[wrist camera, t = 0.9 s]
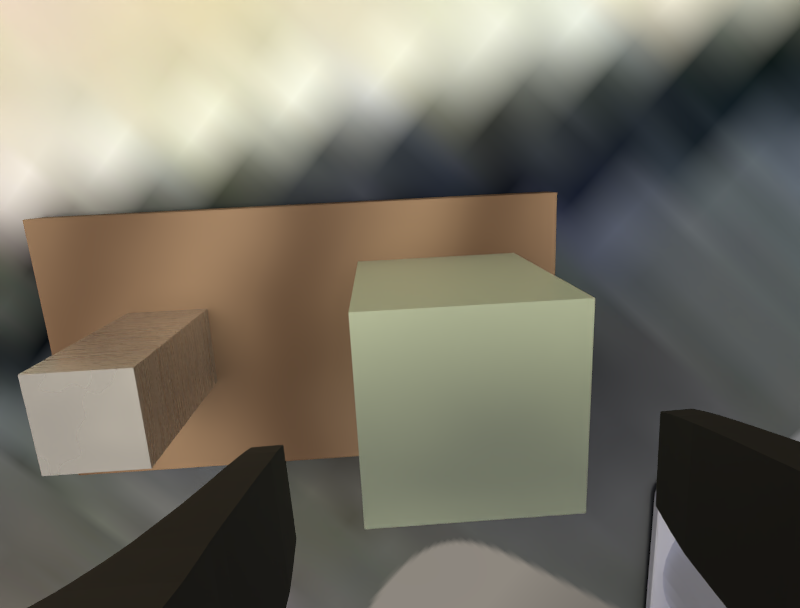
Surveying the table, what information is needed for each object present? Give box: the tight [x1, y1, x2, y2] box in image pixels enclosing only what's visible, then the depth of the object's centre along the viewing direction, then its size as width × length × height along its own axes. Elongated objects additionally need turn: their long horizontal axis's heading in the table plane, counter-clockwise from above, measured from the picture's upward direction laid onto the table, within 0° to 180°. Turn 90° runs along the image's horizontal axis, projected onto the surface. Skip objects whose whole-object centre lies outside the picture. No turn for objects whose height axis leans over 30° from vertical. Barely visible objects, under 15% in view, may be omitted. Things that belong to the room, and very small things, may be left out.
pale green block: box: [348, 253, 595, 529], centre depth 15 cm, size 5×5×7 cm
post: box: [18, 309, 217, 476], centre depth 15 cm, size 3×3×6 cm
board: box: [23, 192, 557, 475], centre depth 18 cm, size 17×9×1 cm, turn 93°
